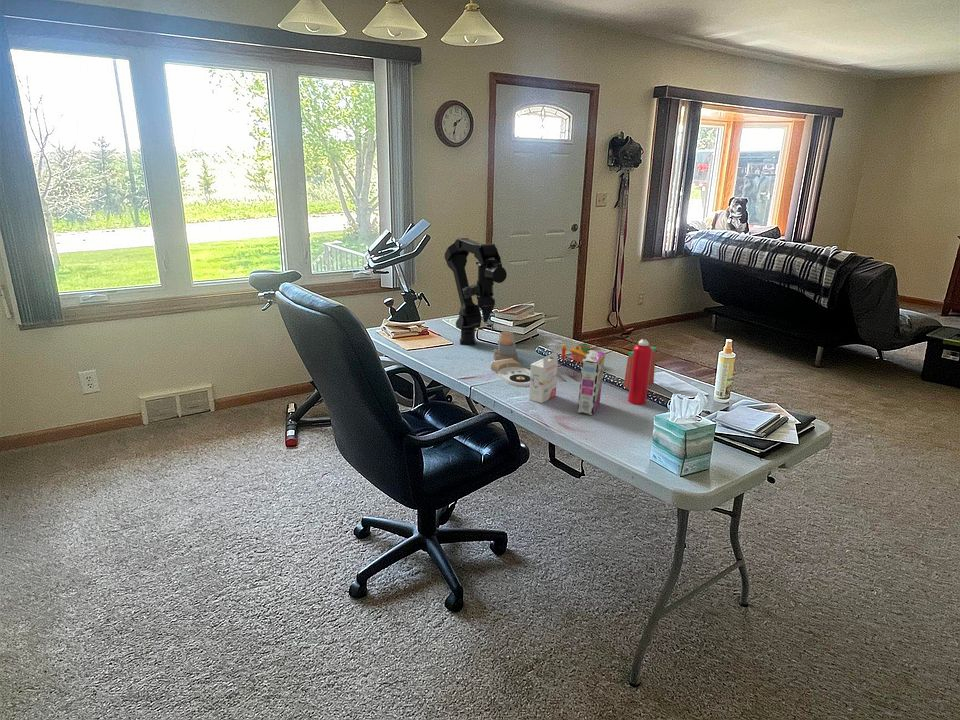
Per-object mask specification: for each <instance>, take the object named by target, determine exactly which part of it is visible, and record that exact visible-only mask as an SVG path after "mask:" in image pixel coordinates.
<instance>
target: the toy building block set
mask: <svg viewBox="0 0 960 720" xmlns="http://www.w3.org/2000/svg"><path fill="white" fill-rule="evenodd" d="M650 347H651V348H652V357H651V365H650V374H649V382H648V386H651V385H654V384H655V383H654V382H655V369H656V368H655V367H656V356H657V355H656V353H657V350H656V349H657V347H655V346H650ZM590 348H593V345H592V344H589V343H587V342H584V343H579V344H578V345H576V346H575V347H573V348H569V349H567V345H566V344H564V343H563V344H562V348H561V357H560V359H564V360H565V358H566V351H567V350H568V351H570V352H571V353H572V359H571V360H576V361H577V362H580V363H582V360H583V359H584V358H585V356H586V355H587V354H588V352H589V351H591V350H590ZM627 355H628V356H627V362H626V368H625V375H624V380H623V381H624V382H623V387H625V388H629V386H630V377H631V368H632V358H633V350H631V351H628V354H627ZM576 361H575V362H576ZM580 363H579V364H580ZM623 387H622V388H623Z"/></svg>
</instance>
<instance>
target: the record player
mask: <svg viewBox="0 0 960 720" xmlns="http://www.w3.org/2000/svg"><path fill="white" fill-rule="evenodd" d="M489 367H490V369H491V370H492V371H493V372H495V373H496V374H497V375H498V376H497V377H498V378H499V379H500V380H501V381H503V382H504V383H506V384H508V385H510V386H514V387H530V369H528V368H525V367H523V366H522V363H521V362H518V361H516V360H514V359H513V358H510V359H503V360H496V361H495V360H491V361H490V364H489Z"/></svg>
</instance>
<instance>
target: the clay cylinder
mask: <svg viewBox="0 0 960 720" xmlns="http://www.w3.org/2000/svg"><path fill="white" fill-rule="evenodd" d="M513 341H514V332H511V331H501V332H500V331H499V344H500V345H503V346H511V345H513Z"/></svg>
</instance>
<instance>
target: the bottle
mask: <svg viewBox="0 0 960 720" xmlns="http://www.w3.org/2000/svg"><path fill="white" fill-rule="evenodd" d="M649 343H650V342H649V341H648V340H647V339H646V338H641V339H640V340H639V341H638V344H636V345H635V346H634V347H633V350H632V351H633V358H632V368H631V377H630V386H629V391H628V395H627V402H628V403H630V404H632V405H637V406H639V405H640V406H643V405H646V403H647V398H648V389H649V385H648V382H649V374H650V365H651V357H652V348H651V347H652V346H651V345H650V344H649Z"/></svg>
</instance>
